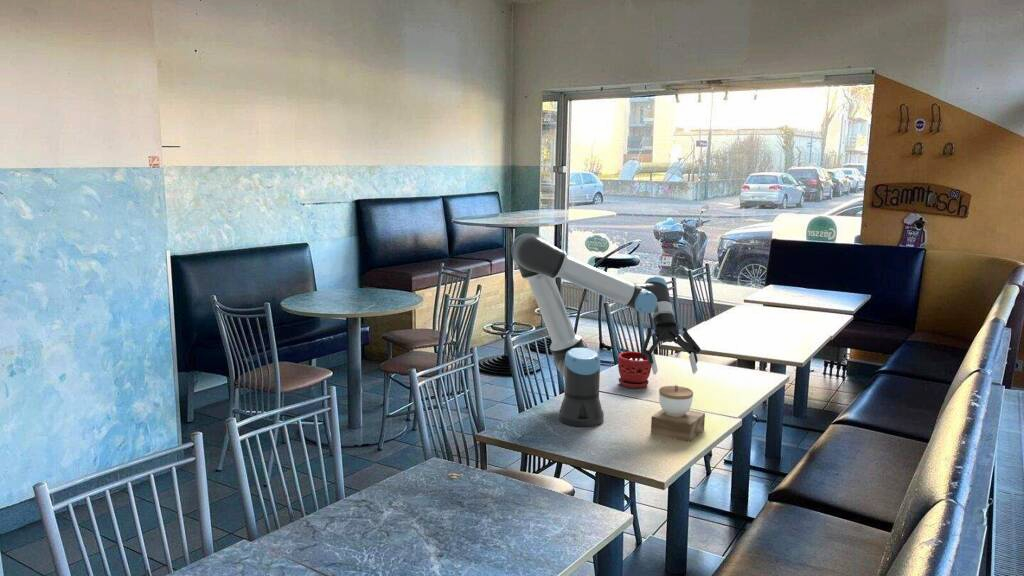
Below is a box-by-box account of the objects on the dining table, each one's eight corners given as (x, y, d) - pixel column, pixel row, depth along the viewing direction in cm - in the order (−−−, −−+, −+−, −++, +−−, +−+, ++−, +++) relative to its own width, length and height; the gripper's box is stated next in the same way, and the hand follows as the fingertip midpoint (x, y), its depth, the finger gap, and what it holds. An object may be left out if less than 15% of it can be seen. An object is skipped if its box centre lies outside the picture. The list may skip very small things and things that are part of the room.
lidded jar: (652, 414, 235) (654, 386, 233) (665, 405, 244) (667, 378, 242) (684, 421, 229) (686, 393, 227) (696, 412, 238) (698, 384, 236)
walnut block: (689, 443, 227) (690, 424, 226) (650, 434, 235) (651, 416, 234) (704, 430, 238) (704, 413, 237) (666, 422, 245) (667, 405, 244)
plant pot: (615, 388, 281) (616, 358, 279) (619, 379, 294) (620, 350, 292) (650, 391, 278) (651, 360, 276) (652, 381, 291) (653, 352, 289)
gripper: (694, 322, 257) (708, 376, 245) (625, 323, 254) (636, 378, 242) (701, 311, 251) (715, 366, 239) (630, 312, 247) (641, 367, 236)
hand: (675, 372), depth 240 cm, fingers open, 13 cm apart
